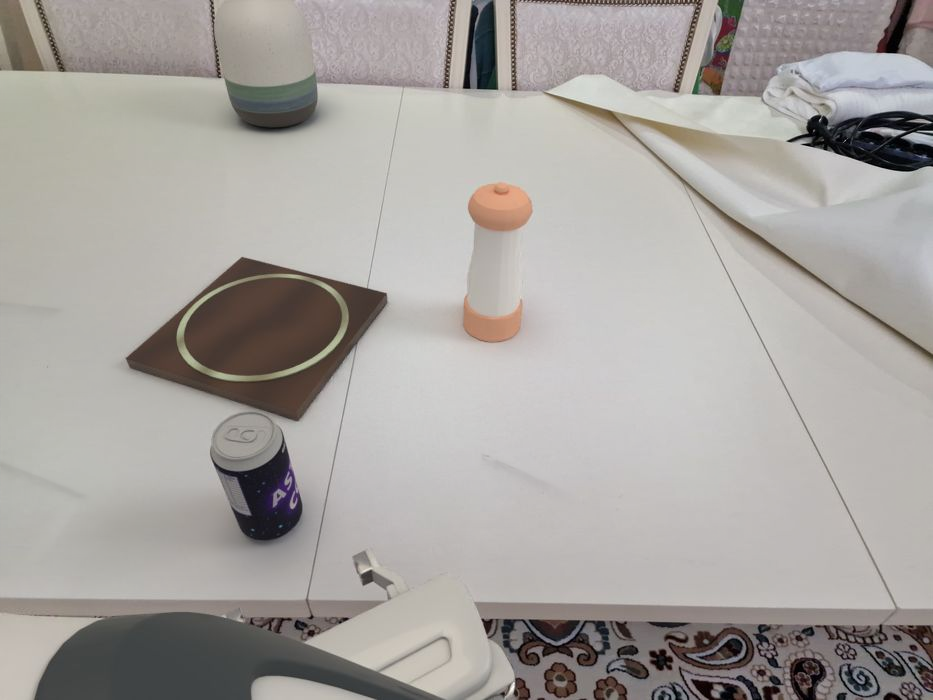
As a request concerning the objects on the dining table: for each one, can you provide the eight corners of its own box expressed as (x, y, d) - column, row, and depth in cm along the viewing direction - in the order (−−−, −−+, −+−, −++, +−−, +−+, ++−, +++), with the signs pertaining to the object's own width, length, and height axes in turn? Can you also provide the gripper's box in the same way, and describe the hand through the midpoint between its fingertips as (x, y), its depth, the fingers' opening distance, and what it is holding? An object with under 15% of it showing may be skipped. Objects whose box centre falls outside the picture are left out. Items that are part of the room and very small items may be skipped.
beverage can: (290, 550, 54) (263, 468, 46) (229, 540, 54) (192, 457, 46) (312, 496, 58) (291, 412, 50) (255, 487, 59) (225, 402, 51)
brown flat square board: (129, 367, 70) (124, 356, 69) (244, 265, 85) (241, 255, 84) (298, 421, 65) (295, 410, 64) (387, 302, 80) (387, 291, 79)
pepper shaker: (504, 349, 74) (518, 208, 61) (452, 329, 77) (454, 189, 64) (529, 317, 79) (547, 179, 66) (479, 298, 81) (487, 162, 68)
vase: (332, 105, 129) (316, -27, 112) (304, 138, 116) (282, -4, 100) (254, 99, 130) (228, -32, 114) (219, 131, 118) (184, -11, 102)
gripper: (534, 678, 36) (431, 500, 45) (167, 898, 29) (130, 633, 38) (524, 714, 40) (432, 545, 49) (203, 914, 33) (162, 672, 42)
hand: (299, 584), depth 43 cm, fingers open, 8 cm apart
